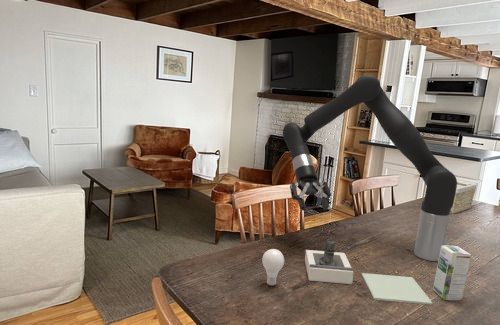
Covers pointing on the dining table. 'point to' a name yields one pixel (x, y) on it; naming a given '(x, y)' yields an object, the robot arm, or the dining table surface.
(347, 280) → the holder
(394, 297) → the mat
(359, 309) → the dining table surface
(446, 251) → the syrup box
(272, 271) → the lightbulb
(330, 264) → the grey chess piece
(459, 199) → the storage basket
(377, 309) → the dining table surface
